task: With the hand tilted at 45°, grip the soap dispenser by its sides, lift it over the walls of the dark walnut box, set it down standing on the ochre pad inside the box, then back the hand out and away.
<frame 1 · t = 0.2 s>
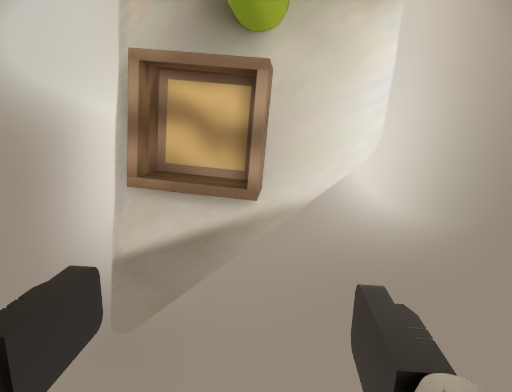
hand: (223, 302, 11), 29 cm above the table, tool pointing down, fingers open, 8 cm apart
walnut box: (208, 125, 38), on the table
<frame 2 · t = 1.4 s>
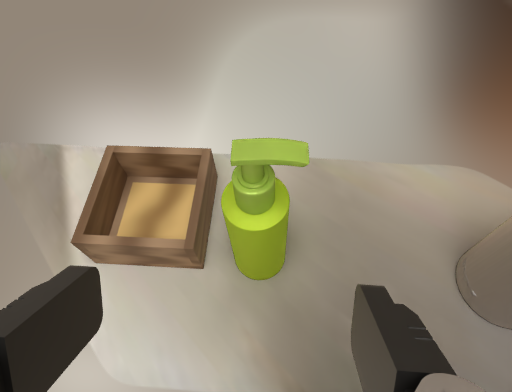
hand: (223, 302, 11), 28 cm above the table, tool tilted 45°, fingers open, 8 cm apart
soap dispenser: (264, 256, 41), on the table
walnut box: (160, 216, 44), on the table
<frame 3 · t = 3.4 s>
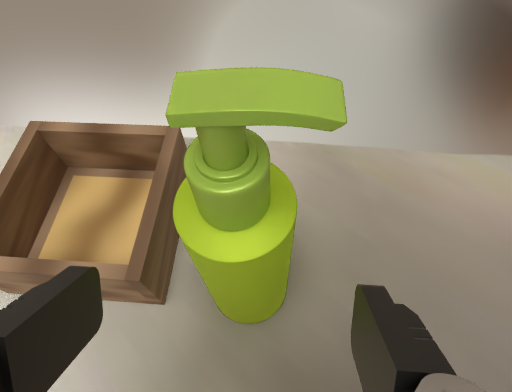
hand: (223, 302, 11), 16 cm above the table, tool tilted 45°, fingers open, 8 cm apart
soap dispenser: (256, 286, 28), on the table
walnut box: (109, 225, 31), on the table
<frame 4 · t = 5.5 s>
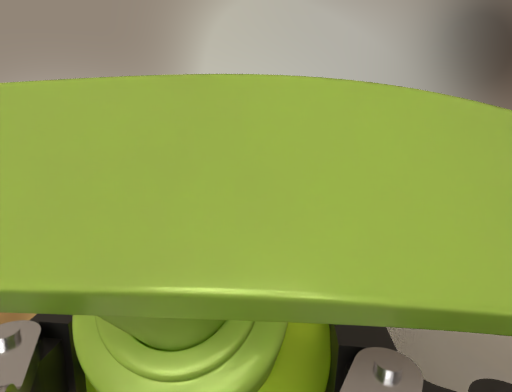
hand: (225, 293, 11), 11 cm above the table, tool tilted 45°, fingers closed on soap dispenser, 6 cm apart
soap dispenser: (246, 377, 20), on the table, touching gripper
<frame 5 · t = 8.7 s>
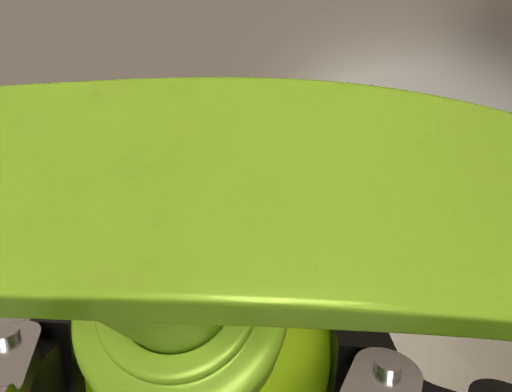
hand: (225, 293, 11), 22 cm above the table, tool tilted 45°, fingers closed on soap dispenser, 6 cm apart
soap dispenser: (246, 377, 20), point 11 cm above the table, touching gripper
when the fingers open (13 cm above the table, at t = 11.8 s): soap dispenser drops 1 cm, resting on walnut box.
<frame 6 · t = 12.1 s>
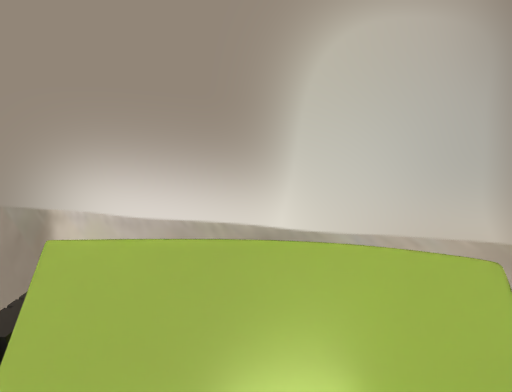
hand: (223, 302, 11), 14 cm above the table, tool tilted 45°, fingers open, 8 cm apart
soap dispenser: (254, 383, 21), point 1 cm above the table, touching walnut box
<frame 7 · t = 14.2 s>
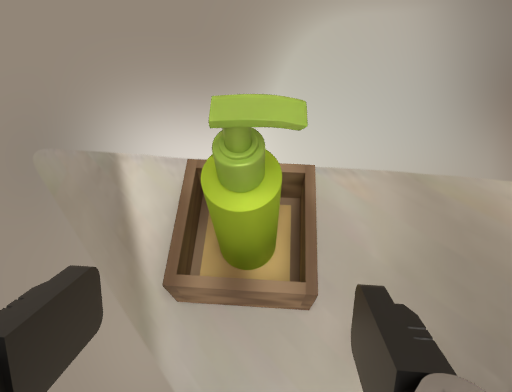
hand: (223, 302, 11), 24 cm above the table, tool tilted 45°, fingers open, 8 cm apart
soap dispenser: (252, 243, 36), point 1 cm above the table, touching walnut box
walnut box: (247, 243, 37), on the table
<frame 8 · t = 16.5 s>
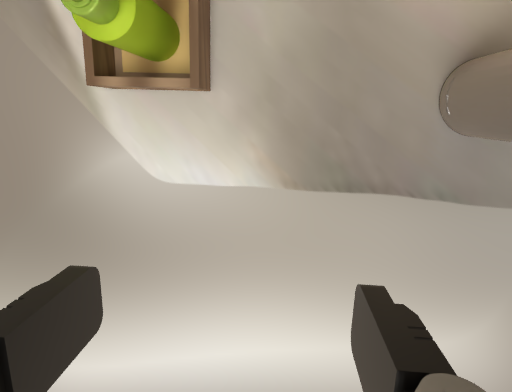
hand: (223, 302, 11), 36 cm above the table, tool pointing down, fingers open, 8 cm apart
soap dispenser: (161, 36, 42), point 1 cm above the table, touching walnut box
walnut box: (158, 35, 43), on the table
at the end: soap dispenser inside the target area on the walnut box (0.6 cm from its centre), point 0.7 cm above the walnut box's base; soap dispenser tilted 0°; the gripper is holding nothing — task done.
